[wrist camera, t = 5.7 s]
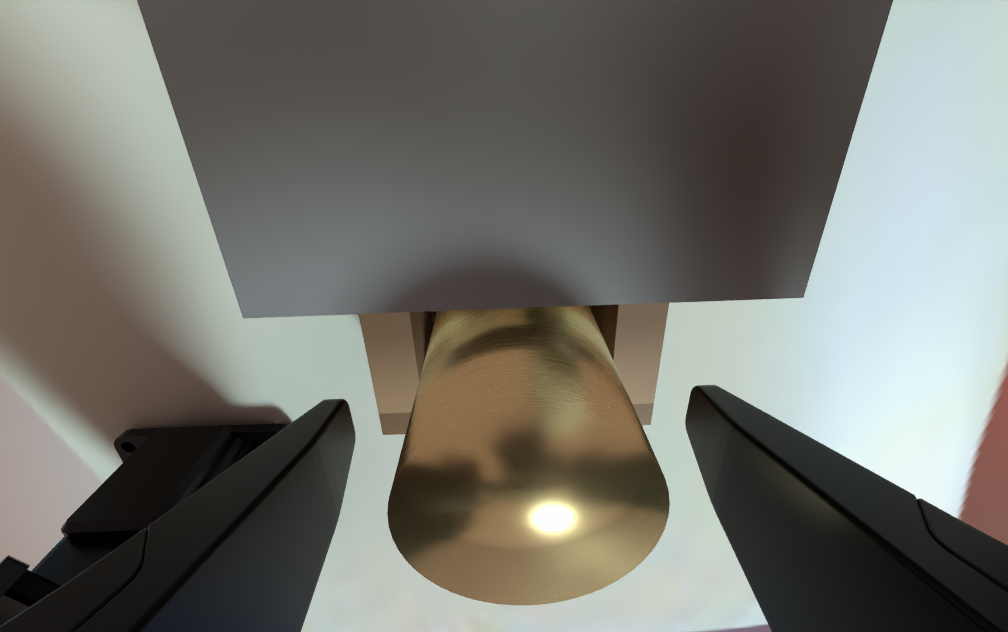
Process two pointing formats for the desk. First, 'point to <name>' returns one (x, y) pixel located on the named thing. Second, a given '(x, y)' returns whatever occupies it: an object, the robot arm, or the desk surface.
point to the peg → (524, 461)
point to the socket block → (514, 157)
